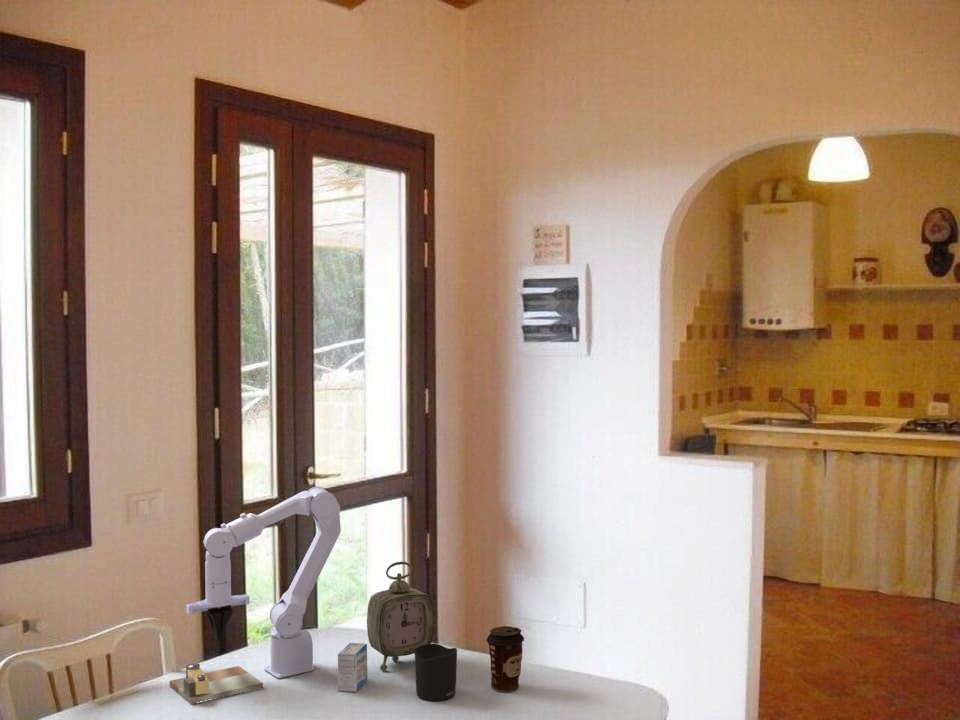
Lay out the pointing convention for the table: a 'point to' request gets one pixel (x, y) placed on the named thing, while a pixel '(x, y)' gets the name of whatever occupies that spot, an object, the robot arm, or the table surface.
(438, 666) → the pen holder
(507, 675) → the coffee cup
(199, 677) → the latch bar
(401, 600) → the tabletop clock
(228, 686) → the metal latch base plate
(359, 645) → the medicine box
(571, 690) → the table surface
